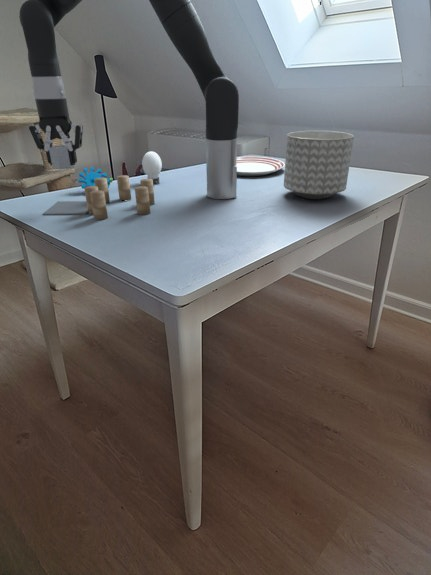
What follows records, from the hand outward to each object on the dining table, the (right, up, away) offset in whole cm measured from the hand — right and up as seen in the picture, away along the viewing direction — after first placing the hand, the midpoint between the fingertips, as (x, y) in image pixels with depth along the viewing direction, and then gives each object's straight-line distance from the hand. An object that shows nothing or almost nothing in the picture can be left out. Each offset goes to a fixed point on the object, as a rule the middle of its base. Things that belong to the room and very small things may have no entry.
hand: (63, 164), depth 109 cm
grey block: (0, -1, 0) cm, 1 cm away
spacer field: (+15, -11, +6) cm, 20 cm away
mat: (0, -11, +6) cm, 12 cm away
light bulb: (+20, +3, +31) cm, 37 cm away
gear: (+3, -2, +23) cm, 23 cm away
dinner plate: (+56, +13, +49) cm, 75 cm away
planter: (+73, -5, +15) cm, 75 cm away
